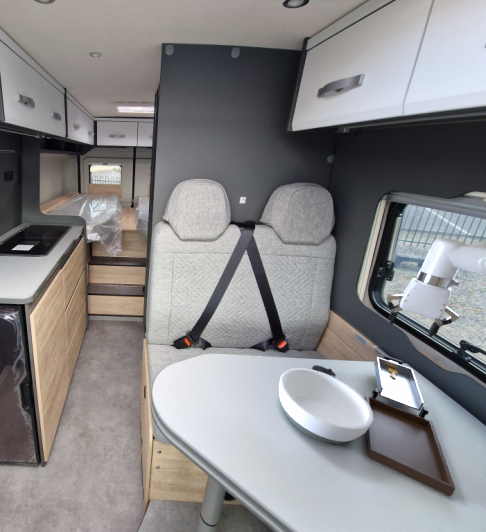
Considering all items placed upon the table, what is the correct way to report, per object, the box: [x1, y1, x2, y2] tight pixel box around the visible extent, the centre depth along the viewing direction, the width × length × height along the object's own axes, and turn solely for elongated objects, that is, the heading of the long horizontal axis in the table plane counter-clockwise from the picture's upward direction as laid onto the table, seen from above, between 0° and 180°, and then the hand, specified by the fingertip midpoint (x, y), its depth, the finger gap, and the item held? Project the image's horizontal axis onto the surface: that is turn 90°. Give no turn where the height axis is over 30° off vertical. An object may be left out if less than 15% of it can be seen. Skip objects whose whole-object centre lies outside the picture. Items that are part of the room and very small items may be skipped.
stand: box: [370, 387, 430, 418], centre depth 92 cm, size 2×13×5 cm, turn 56°
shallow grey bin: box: [373, 355, 425, 412], centre depth 100 cm, size 23×10×3 cm, turn 146°
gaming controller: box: [311, 364, 337, 378], centre depth 103 cm, size 10×5×6 cm
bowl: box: [278, 367, 374, 445], centre depth 86 cm, size 22×22×8 cm
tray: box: [364, 394, 456, 497], centre depth 82 cm, size 24×16×3 cm, turn 146°
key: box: [388, 367, 398, 380], centre depth 104 cm, size 6×2×1 cm, turn 146°
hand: (410, 328), depth 98 cm, fingers open, 9 cm apart
